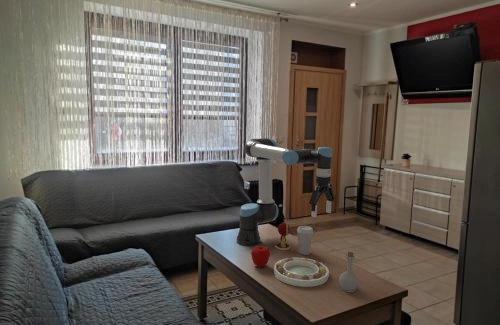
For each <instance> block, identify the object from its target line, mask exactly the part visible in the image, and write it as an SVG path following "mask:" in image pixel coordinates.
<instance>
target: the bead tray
mask: <svg viewBox="0 0 500 325" xmlns="http://www.w3.org/2000/svg"><path fill="white" fill-rule="evenodd" d="M273 275H274V276H275V278H276V279H277V280H278V281H279V282H282V283H284V284H286V285H289V286H294V287H300V288H301V287H302V288H312V287H313V288H314V287H318V286H322V285H324V284H325V283H326V282H327V281H328V279H329V276H330V271H329V268H328V267H327V266H326V264H323V262H320V261H318V260H314V259H310V258H306V257H288V258H283V259H279V260H278V261H277V260H276V262H275V264H274V265H273Z"/></svg>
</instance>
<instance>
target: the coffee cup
mask: <svg viewBox="0 0 500 325" xmlns="http://www.w3.org/2000/svg"><path fill="white" fill-rule="evenodd" d="M296 232H297V245H298V246H297V249H298V252H297V253H298V254H300V255H303V256H306V255H310V254H311V246H312V240H313V233H314V229H313V227H311V226H308V225H300V226H298V227H297V229H296Z"/></svg>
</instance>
